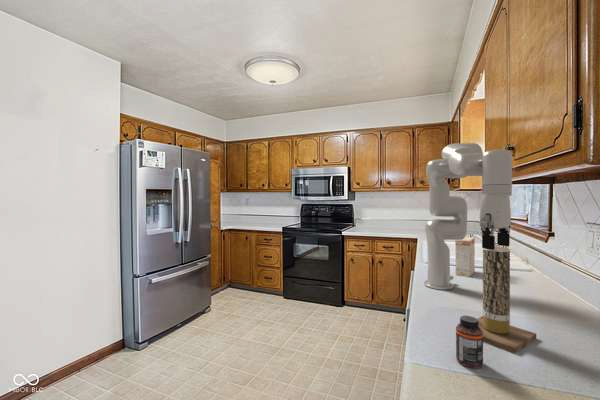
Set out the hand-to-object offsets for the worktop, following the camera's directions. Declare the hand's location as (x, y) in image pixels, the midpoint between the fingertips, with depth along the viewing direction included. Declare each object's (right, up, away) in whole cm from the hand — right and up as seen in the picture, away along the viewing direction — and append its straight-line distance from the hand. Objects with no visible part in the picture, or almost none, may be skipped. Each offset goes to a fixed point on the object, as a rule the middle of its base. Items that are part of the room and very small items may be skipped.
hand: (496, 247), depth 88 cm
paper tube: (0, -26, 0) cm, 26 cm away
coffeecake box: (+32, -27, +72) cm, 83 cm away
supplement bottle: (-17, -27, -15) cm, 35 cm away
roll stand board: (0, -27, 0) cm, 27 cm away
